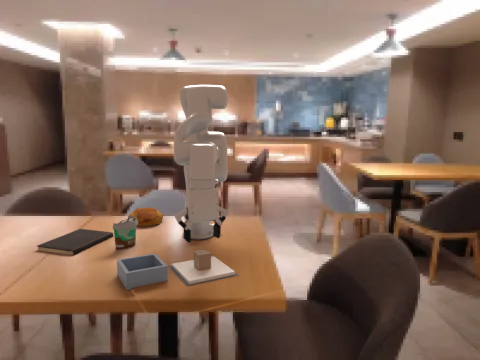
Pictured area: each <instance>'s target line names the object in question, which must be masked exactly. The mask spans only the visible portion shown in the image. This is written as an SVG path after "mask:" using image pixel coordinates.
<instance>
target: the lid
mask: <svg viewBox="0 0 480 360" xmlns="http://www.w3.org/2000/svg"><path fill="white" fill-rule="evenodd" d="M171 266H172V268H173V269H174V270H175V271H176V272H177V273H178V274H179V275H180V276H181V277H182V278H183V279H184V280H185V281H186V282H187V283H188V284H193V283H198V282H203V281H207V280H212V279H217V278H222V277H226V276H231V275H235V270H233V269H232V268H231V267H230V266H228V265H227V264H226V263H223V262H222V261H221V260H220V259H219V258H217V257H216V256H212V253H211V252H209V251H208V250H207V249H200V250H195V251H193V259H191V260H186V261H181V262H180V261H179V262H175V263H171Z"/></svg>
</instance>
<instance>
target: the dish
mask: <svg viewBox="0 0 480 360" xmlns="http://www.w3.org/2000/svg"><path fill="white" fill-rule="evenodd" d="M168 266H169V265H167V263H166V262H164V260H163V259H161V257H160V256H158V254H157V253H156V252H155V253H149V254H142V255H138V256H137V255H136V256H131V257H129V256H128V257H124V258H118V259H116V268H117V271H116V273H117V274H116V275H117V277H118V278H119V280H120V282H121V283H122V285H123V287H124V288H125V290H126V291H130V290H133V289H134V288H138V287H143V286H147V285H153V284H158V283H162V282H167V281H168V280H169V277H168V275H169V273H168V272H169V270H168V269H169V267H168ZM168 282H169V281H168Z"/></svg>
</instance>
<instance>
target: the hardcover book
mask: <svg viewBox="0 0 480 360" xmlns="http://www.w3.org/2000/svg"><path fill="white" fill-rule="evenodd" d="M113 237H114V232H110V231H103V230H95V229H87V228H86V229H85V228H78V229H76V230H74V231H71V232H68V233H65V234H63V235H61V236H58V237H56V238H53V239H51V240H48V241H45V242H42V243H40V244H37V245H36V248H37V250H38V251H40V252H49V253H55V254H61V255H62V254H63V255H70V256H76V255H78V254H80V253H82V252H84V251H86V250H88V249H91V248H93V247H94V246H97V245H99V244H100V243H103V242H105V241H107V240H109V239H111V238H113Z"/></svg>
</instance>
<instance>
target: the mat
mask: <svg viewBox="0 0 480 360" xmlns="http://www.w3.org/2000/svg"><path fill="white" fill-rule="evenodd" d="M167 266H168V269H169V270H171V271H172V273H173V274H174V275H175V276H177V278H178V279H179V280H180V281H181V282H182V283H183V284H184V286H186V287H190V286H191V287H192V286H196V285H201V284H205V283H211V282H214V281H215V282H216V281H219V280H225V279H229V278H233V277H238V276H239V277H240V274H238V273H237V272H235V275H231V276H226V277H222V278H217V279H212V280H207V281H203V282H198V283H193V284H188V283H187V282H186V281H185V280H184V279H183V278H182V277H181V276H180V275H179V274H178V273H177V272H176V271H175V270H174V269H173V268H172V265H167Z"/></svg>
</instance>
